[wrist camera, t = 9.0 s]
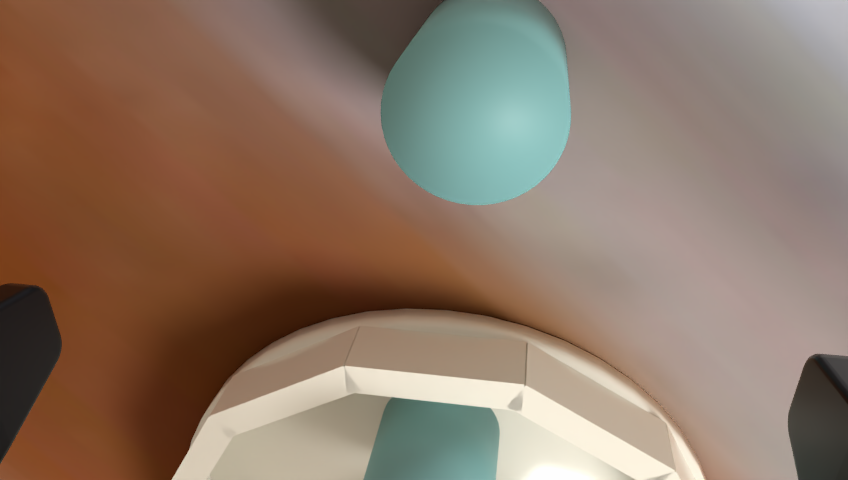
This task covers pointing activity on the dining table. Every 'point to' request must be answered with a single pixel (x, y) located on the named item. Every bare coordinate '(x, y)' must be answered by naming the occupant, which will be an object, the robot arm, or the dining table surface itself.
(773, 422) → the dining table surface
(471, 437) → the bead
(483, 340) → the groove tray
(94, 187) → the dining table surface
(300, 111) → the dining table surface
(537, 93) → the bead
